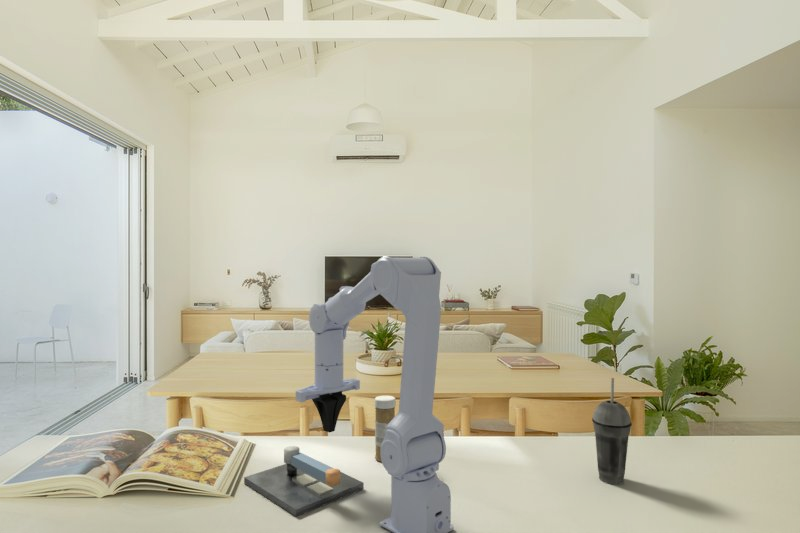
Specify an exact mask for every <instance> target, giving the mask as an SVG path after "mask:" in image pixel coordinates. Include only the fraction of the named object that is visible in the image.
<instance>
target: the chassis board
mask: <svg viewBox="0 0 800 533" xmlns="http://www.w3.org/2000/svg"><path fill="white" fill-rule="evenodd" d="M324 464H325V463H324ZM325 465H327V463H326V464H325ZM243 478H244V481H243V482H244V484H245V485H246V486H248V487H250V488H251V489H252V490H254V491H255V492H257V493H259V494H261V495H262V496H263V497H264V498H266V499H268V500H270V501H271V502H272V503H273V504H276V505H278V506H279V507H280V508H282V509H283V510H285V511H287V512H288V513H289V514H291V515H293V516H294V517H299V516H301V515H304V514H306V513H309V512H311V511H314V510H315V509H318V508H320V507H323V506H326V505H328V504H330V503H332V502H335V501H337V500H340V499H343V498H346V497H348V496H350V495H352V494H354V493H357V492H360V491H362V490H364V482H363V481H361V480H358V478H357V479H356V478H354V477H352V476H351V475H348V474H346V473H344V472H342V471H340V484H339V485H336V486H328V485H326V483H325V482H323V481H321V480H319V479H317V478H315V477H313V476H311V475H310V474H308V473H306V472H304V471H302V470H300V469H298V468H296V467H294V466H292V465H291V464H286V463H284V464H281V465H279V466H274V467H272V468H269V469H266V470H263V471H260V472H257V473H253V474H250V475H247V476H244V477H243Z"/></svg>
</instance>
